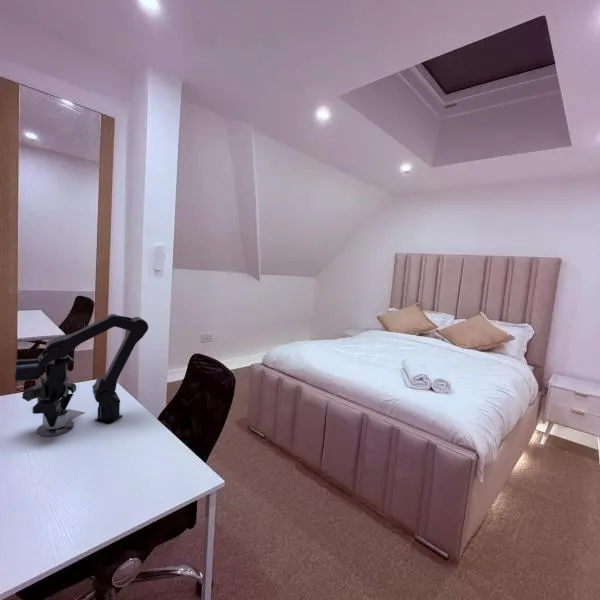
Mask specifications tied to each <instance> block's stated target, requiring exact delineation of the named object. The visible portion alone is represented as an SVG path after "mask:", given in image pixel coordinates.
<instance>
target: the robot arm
mask: <svg viewBox="0 0 600 600" xmlns="http://www.w3.org/2000/svg"><path fill="white" fill-rule="evenodd" d="M112 328H119V329H123V330H124V331H125V333H124V339H123V340H122V343H121V344H120V346H119V348H118V350H117V352H116V353H115V356H114V358H113V359H112V362H111V363H110V365H109V367H108V369H107V371H106V373H105V374H104V375H103V376H102V377H100V376H97V378H96V380H95V383H94V384H93V385H92V393H93V397H94V400H95V402H97V403H98V406H97V418H96V419H94V422H97V423H100V424H106V425H111V424H113V423H114V422H117V421H118V420H120V419H122V418H123V415H122V414H120V408H121V406H120V403H121V399H120V397H119V395H118V393H117V392H116V390H117V385H118V379H119V377H120V375H121V374H122V371H123V369H124V368H125V366H126V364H127V362H128V360H129V358H130V356H131V354H132V352H133V350H134V348H135V346H136V344H137V343H138V342H139V341H141V339H142V338H143V337H144V336H145V334H146V333H147V332H148V330H149V324H148V322H147V321H146V320H144V319H143V318H141V317H139V316H133V317H128V316H123V315H117V314H115V313H111V314H110V313H109V315H107V316H106V317H103V318H102V319H100V320H97V321H95V322H93V323H91V324H90V325H87V326H85V327H83V328H81V329H79V330H77V331H74V332H72V333H70V334H64V335H60V336H57V337H54V338H51V339H50V340H48V341H47V342H46V344H45V349H44V350H43V351H42V352H41V354H39V356H38V358H29V359H28V358H27V359H21V358H19V359H17V360H16V366H15V371H14V372H15V373H14V377H15V378H14V379H15V383H18V382H19V383H20V382H27V381H36V380H39V379H41V377H43V376H44V374H43V373H44V367H45V376H46V379H45V381H44V382H43V383H42V384H41V383H39V384H37V385H33V386H31V387H28V388H26V389H24V390H23V392H22V397H21V399H22V400H25V401H26V402H30V401H32V400H35V399H37V398H38V397H41V398H48V399H47V400H40V401H39V402H38V403H37V402H36V404H35V405H33V406H32V414H33V415H36V414H43V415H45V417H46V419H47V422H48V424H49V426H50V427H54V425H55V423H56V420H57V418H58V416H59V413H60V411H61V409H66V410H67V409H68V406H69V404H70V402H71V400H72V398H73V396H74V393H75V392H77V385H76V384H75V383H74V382H70V383H69V380H70V376H68V365H70V364H74V363H75V361H74V359H73V357H71V356H70V355H69V354H70V353H71V352H73V351H74V350H75V349H76V348H77V347H78V346H80V345H81V344H83V343H84V342H87V341H89V340H90V339H92V338H95V337H97V336H99V335H101V334H103V333H105V332H106V331H108V330H110V329H112Z"/></svg>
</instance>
